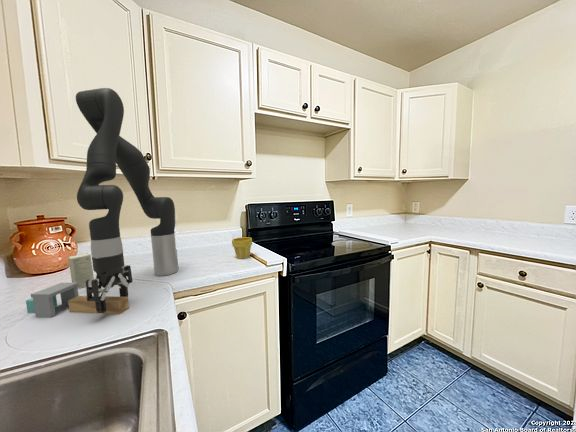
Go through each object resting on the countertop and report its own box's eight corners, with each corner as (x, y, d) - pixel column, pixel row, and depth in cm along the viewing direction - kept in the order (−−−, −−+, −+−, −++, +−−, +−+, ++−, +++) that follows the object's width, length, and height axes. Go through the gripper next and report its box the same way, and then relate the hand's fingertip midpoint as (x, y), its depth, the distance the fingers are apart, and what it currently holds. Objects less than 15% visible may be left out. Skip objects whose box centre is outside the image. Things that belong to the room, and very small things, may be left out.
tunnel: (64, 303, 81) (61, 282, 80) (80, 303, 80) (78, 282, 79) (34, 317, 72) (30, 294, 71) (52, 317, 71) (49, 294, 71)
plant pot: (235, 254, 135) (234, 237, 134) (254, 254, 135) (253, 236, 134) (230, 260, 125) (229, 241, 124) (250, 259, 124) (249, 240, 123)
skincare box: (92, 282, 100) (88, 252, 98) (95, 284, 97) (91, 254, 96) (71, 287, 95) (67, 256, 94) (74, 289, 92) (70, 258, 91)
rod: (80, 307, 78) (79, 295, 77) (129, 309, 76) (128, 296, 75) (69, 313, 74) (68, 300, 74) (120, 315, 72) (118, 302, 72)
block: (43, 306, 80) (41, 294, 79) (57, 306, 79) (55, 294, 79) (27, 313, 75) (25, 300, 75) (42, 313, 75) (40, 300, 74)
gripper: (114, 247, 80) (120, 295, 82) (73, 260, 66) (80, 317, 68) (136, 247, 79) (141, 295, 81) (99, 259, 65) (106, 317, 67)
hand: (113, 305), depth 74 cm, fingers open, 8 cm apart
